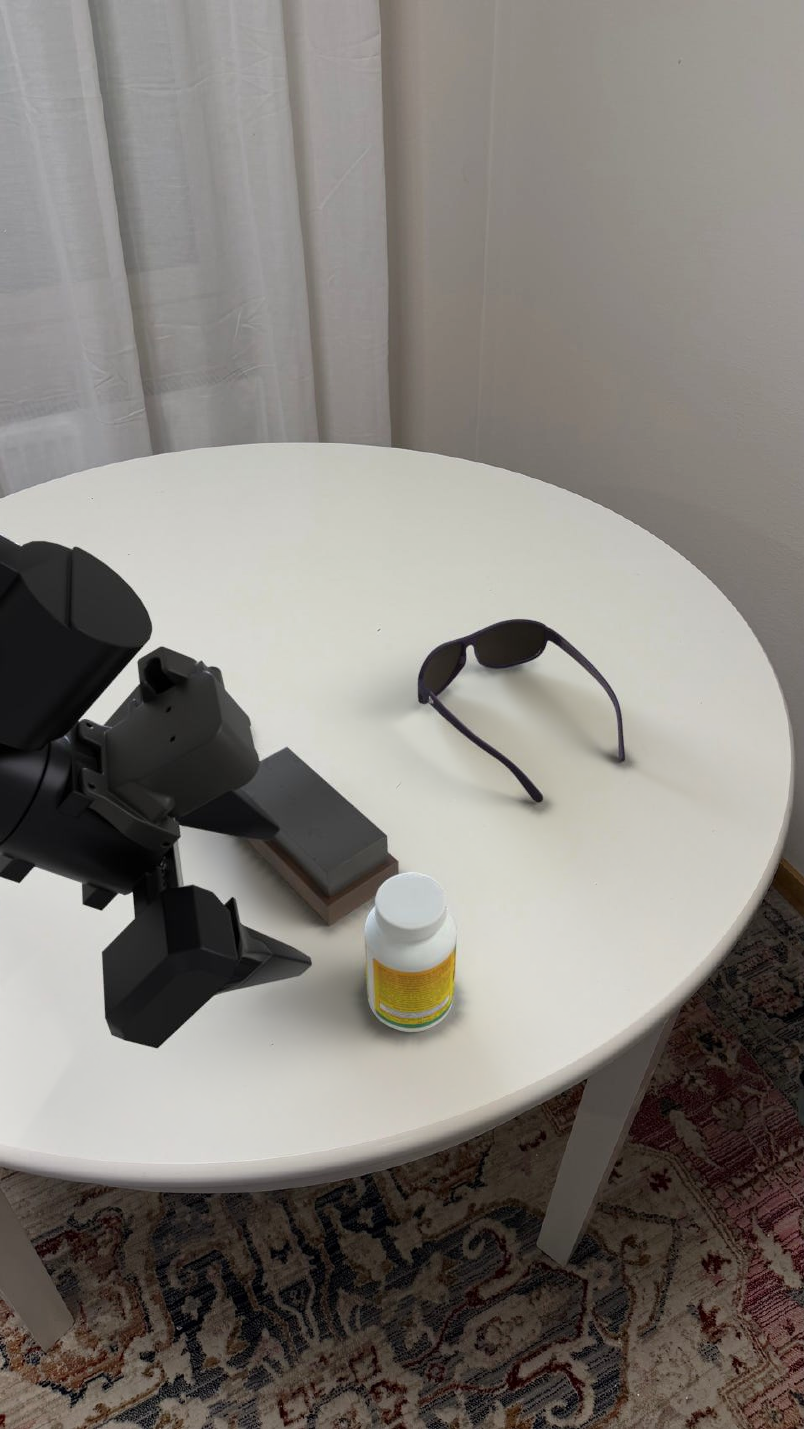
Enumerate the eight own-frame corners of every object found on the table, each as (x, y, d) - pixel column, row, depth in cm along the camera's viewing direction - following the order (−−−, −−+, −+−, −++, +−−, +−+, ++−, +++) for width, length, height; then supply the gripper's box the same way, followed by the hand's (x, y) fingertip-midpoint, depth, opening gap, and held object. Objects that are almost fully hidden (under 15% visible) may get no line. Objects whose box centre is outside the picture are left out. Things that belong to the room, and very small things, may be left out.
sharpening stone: (399, 880, 69) (398, 836, 66) (329, 926, 66) (325, 882, 64) (293, 783, 77) (288, 739, 74) (226, 820, 74) (218, 776, 71)
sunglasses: (527, 649, 89) (530, 602, 86) (653, 748, 79) (663, 700, 76) (398, 705, 84) (398, 657, 80) (517, 819, 74) (521, 770, 70)
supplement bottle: (354, 980, 63) (346, 881, 57) (429, 948, 65) (430, 849, 59) (390, 1049, 60) (387, 952, 53) (470, 1014, 61) (475, 915, 55)
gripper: (137, 822, 34) (447, 947, 43) (111, 543, 47) (351, 683, 57) (-38, 1010, 37) (283, 1088, 47) (-15, 701, 51) (229, 808, 60)
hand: (289, 895), depth 52 cm, fingers open, 9 cm apart
